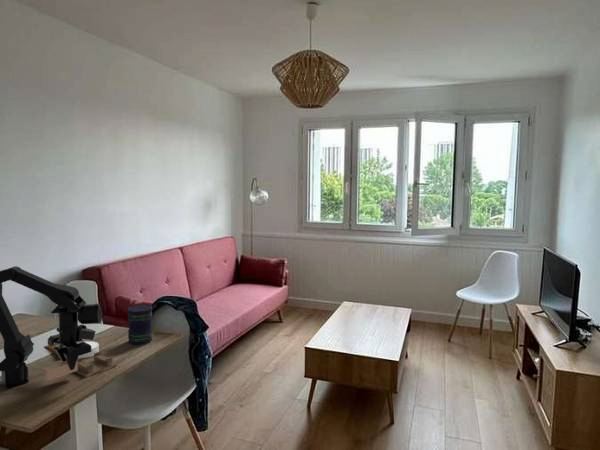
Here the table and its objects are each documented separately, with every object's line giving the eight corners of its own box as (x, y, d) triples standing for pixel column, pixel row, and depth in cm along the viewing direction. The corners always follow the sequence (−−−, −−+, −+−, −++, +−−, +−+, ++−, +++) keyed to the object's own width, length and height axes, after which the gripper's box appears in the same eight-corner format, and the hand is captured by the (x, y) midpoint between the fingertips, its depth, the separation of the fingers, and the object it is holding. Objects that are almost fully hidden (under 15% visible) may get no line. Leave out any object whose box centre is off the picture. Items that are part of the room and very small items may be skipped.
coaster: (79, 361, 157) (79, 352, 156) (65, 355, 162) (65, 346, 162) (104, 352, 165) (103, 344, 165) (90, 347, 170) (90, 339, 170)
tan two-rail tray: (86, 377, 143) (85, 367, 143) (71, 369, 149) (71, 359, 148) (115, 366, 152) (115, 356, 152) (101, 359, 158) (100, 350, 157)
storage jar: (123, 343, 174) (122, 309, 173) (139, 336, 183) (138, 303, 182) (142, 347, 171) (141, 312, 170) (157, 339, 180) (156, 306, 179)
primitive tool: (43, 347, 170) (43, 339, 169) (58, 344, 174) (58, 336, 173) (58, 361, 156) (58, 352, 156) (73, 357, 160) (73, 349, 160)
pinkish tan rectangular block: (46, 381, 134) (46, 370, 133) (42, 378, 135) (42, 368, 135) (77, 370, 142) (77, 360, 142) (73, 368, 144) (73, 358, 143)
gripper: (105, 323, 141) (106, 367, 142) (78, 313, 152) (79, 354, 153) (72, 332, 132) (74, 379, 133) (46, 321, 142) (47, 364, 144)
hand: (69, 368), depth 141 cm, fingers closed on pinkish tan rectangular block, 3 cm apart
